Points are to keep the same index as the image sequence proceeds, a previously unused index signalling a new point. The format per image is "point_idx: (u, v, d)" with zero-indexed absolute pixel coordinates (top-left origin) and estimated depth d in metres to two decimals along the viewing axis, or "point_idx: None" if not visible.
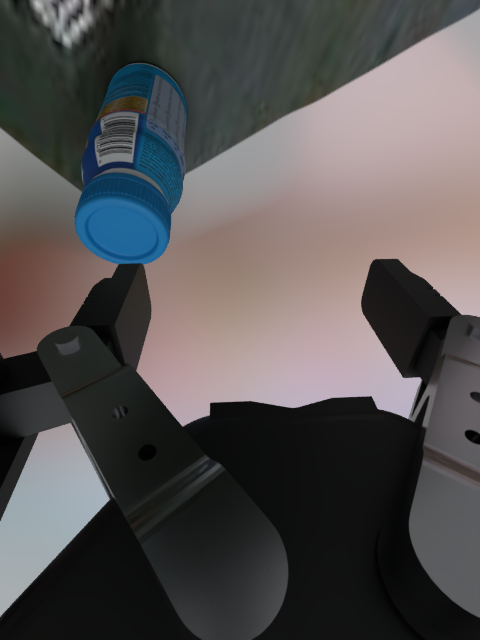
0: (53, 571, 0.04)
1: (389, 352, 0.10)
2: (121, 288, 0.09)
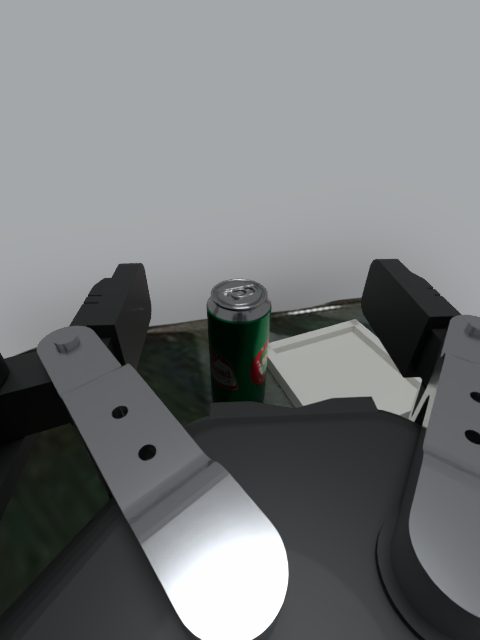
0: (53, 571, 0.04)
1: (389, 352, 0.10)
2: (121, 288, 0.09)
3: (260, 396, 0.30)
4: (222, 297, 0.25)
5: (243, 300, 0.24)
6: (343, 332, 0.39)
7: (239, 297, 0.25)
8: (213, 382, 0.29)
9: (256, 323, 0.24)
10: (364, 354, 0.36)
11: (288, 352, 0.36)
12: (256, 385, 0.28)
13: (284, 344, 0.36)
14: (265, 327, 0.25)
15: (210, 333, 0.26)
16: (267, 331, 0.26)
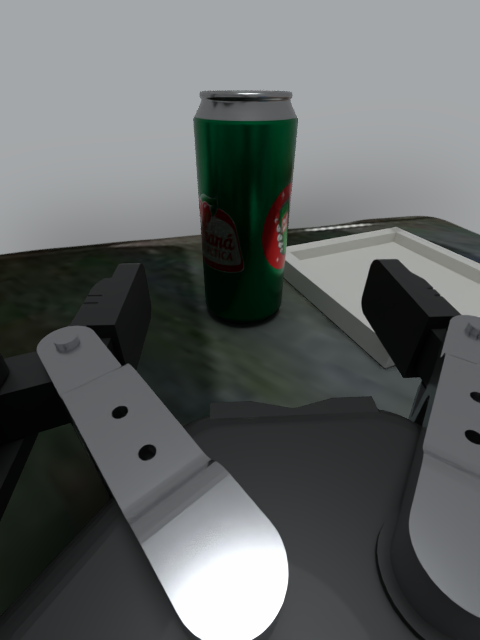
0: (53, 571, 0.04)
1: (389, 352, 0.10)
2: (121, 288, 0.09)
3: (277, 294, 0.20)
4: None
5: None
6: (382, 240, 0.29)
7: None
8: (206, 269, 0.19)
9: (276, 129, 0.14)
10: (415, 261, 0.27)
11: (311, 260, 0.27)
12: (272, 268, 0.18)
13: (305, 248, 0.26)
14: (288, 148, 0.15)
15: (200, 168, 0.16)
16: (290, 164, 0.16)
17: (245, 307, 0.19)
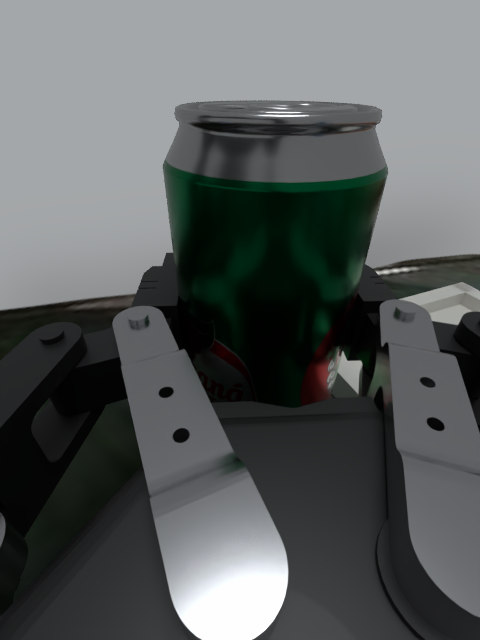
0: (53, 571, 0.04)
1: None
2: (174, 274, 0.10)
3: None
4: None
5: (297, 109, 0.06)
6: (446, 304, 0.21)
7: None
8: None
9: (353, 197, 0.06)
10: None
11: None
12: None
13: None
14: (369, 230, 0.07)
15: (178, 262, 0.08)
16: (366, 255, 0.08)
17: None
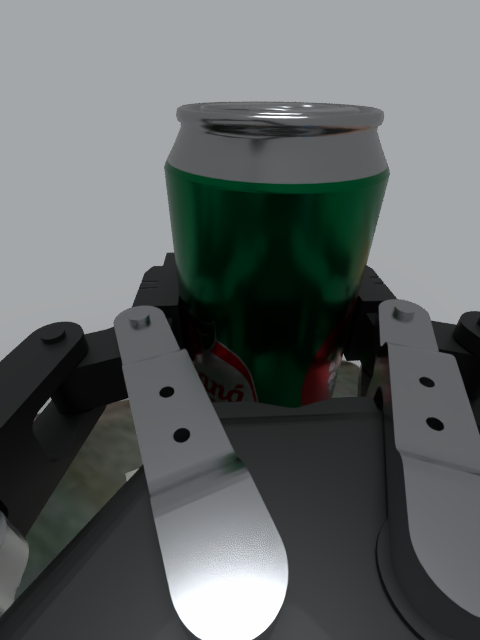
0: (53, 571, 0.04)
1: None
2: (175, 274, 0.10)
3: None
4: None
5: (300, 111, 0.06)
6: None
7: None
8: None
9: (354, 199, 0.06)
10: None
11: None
12: None
13: None
14: (371, 232, 0.07)
15: (179, 263, 0.08)
16: (367, 256, 0.08)
17: None
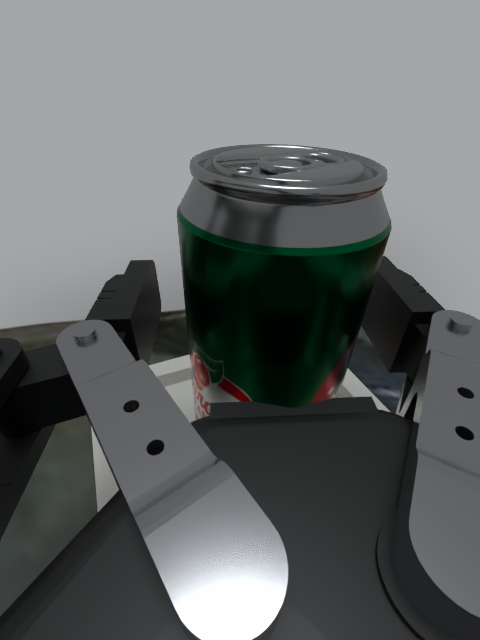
0: (53, 571, 0.04)
1: (377, 348, 0.11)
2: (134, 284, 0.10)
3: None
4: None
5: (309, 173, 0.06)
6: None
7: (291, 170, 0.07)
8: None
9: (359, 258, 0.06)
10: None
11: None
12: None
13: None
14: (372, 281, 0.07)
15: (189, 303, 0.08)
16: (368, 299, 0.08)
17: None
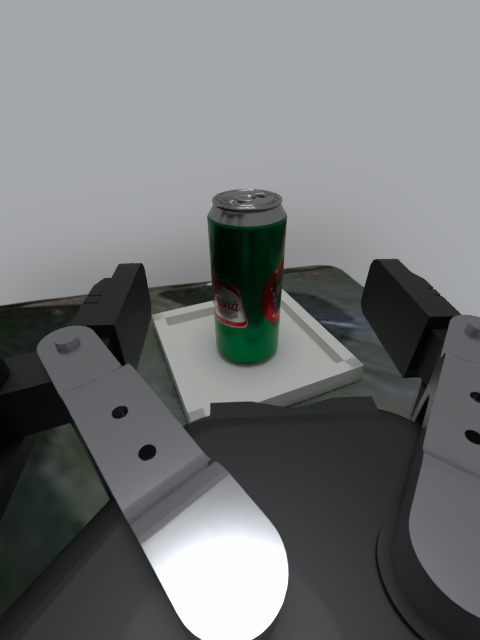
0: (53, 571, 0.04)
1: (389, 352, 0.10)
2: (121, 288, 0.09)
3: (274, 340, 0.25)
4: (226, 203, 0.20)
5: (252, 202, 0.19)
6: None
7: (247, 201, 0.20)
8: (217, 322, 0.24)
9: (270, 229, 0.19)
10: (280, 322, 0.30)
11: (188, 322, 0.30)
12: (269, 322, 0.23)
13: (182, 313, 0.30)
14: (280, 239, 0.20)
15: (212, 252, 0.21)
16: (282, 248, 0.21)
17: (248, 352, 0.24)
